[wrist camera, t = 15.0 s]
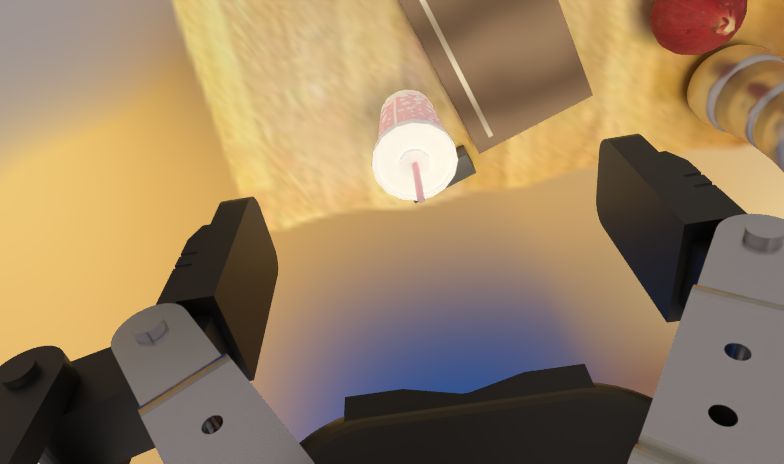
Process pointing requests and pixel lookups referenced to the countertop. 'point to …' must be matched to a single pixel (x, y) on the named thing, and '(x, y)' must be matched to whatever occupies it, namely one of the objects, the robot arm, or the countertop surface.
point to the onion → (696, 24)
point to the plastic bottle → (743, 96)
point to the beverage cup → (412, 148)
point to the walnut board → (499, 65)
